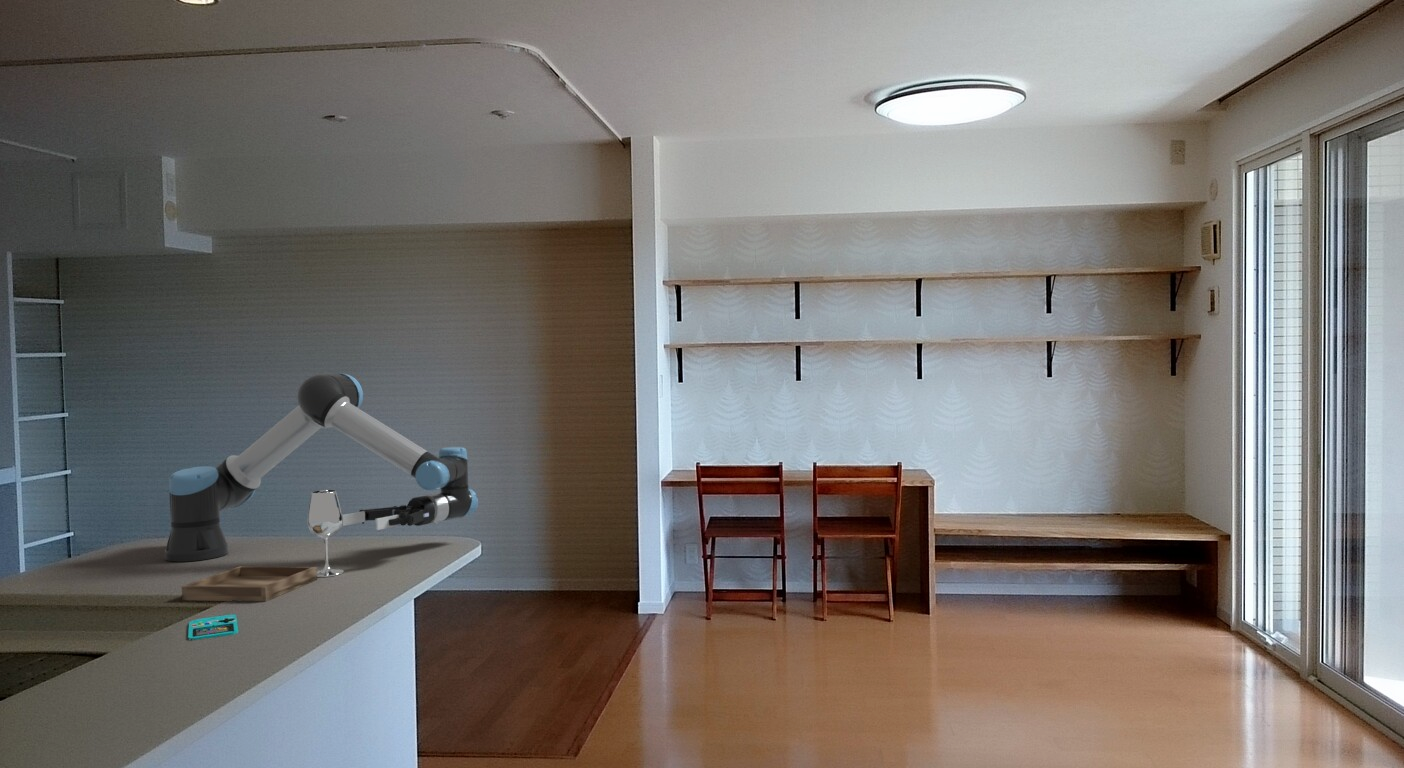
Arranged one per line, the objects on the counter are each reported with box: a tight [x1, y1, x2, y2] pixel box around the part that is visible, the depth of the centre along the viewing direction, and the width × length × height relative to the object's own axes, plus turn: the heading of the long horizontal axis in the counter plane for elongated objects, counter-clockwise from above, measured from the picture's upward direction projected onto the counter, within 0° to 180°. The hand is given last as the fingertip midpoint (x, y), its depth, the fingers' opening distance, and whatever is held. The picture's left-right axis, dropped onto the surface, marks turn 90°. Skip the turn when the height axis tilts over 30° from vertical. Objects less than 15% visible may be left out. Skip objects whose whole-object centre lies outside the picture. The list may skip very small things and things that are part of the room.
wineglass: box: [307, 489, 345, 578], centre depth 236 cm, size 8×8×20 cm
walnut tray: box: [181, 565, 318, 602], centre depth 222 cm, size 20×20×3 cm
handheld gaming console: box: [187, 614, 239, 640], centre depth 190 cm, size 8×1×15 cm
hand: (358, 522), depth 243 cm, fingers open, 13 cm apart
